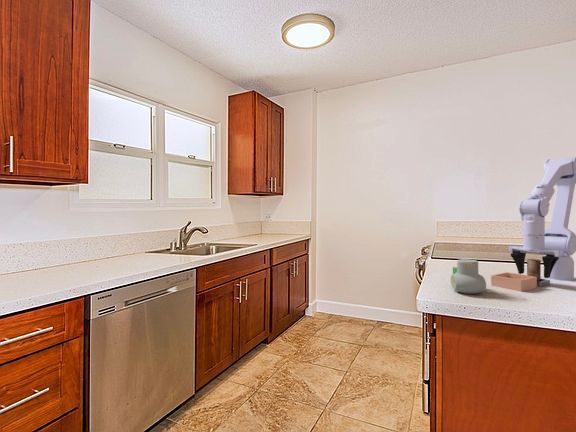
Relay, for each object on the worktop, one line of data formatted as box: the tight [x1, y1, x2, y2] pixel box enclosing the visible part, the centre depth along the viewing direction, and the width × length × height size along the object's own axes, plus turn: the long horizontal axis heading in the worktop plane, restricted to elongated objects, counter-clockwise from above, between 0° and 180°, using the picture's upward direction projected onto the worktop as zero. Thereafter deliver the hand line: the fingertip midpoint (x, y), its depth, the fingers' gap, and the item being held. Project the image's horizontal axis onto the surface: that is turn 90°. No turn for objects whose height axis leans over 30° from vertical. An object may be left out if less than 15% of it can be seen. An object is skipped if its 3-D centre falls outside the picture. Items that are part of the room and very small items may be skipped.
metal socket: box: [537, 278, 551, 288], centre depth 108 cm, size 6×6×2 cm
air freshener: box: [450, 258, 487, 295], centre depth 102 cm, size 11×8×10 cm
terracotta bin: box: [490, 271, 538, 293], centre depth 105 cm, size 9×9×4 cm
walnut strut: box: [526, 258, 542, 282], centre depth 108 cm, size 4×4×8 cm
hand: (533, 275), depth 108 cm, fingers open, 7 cm apart
